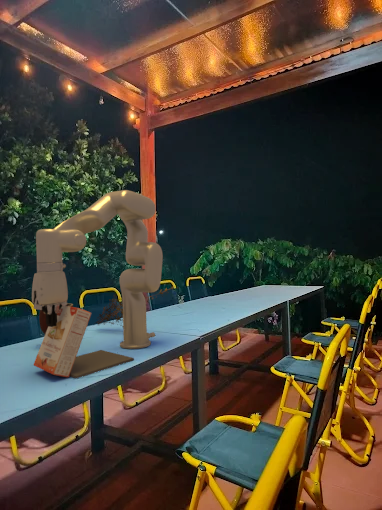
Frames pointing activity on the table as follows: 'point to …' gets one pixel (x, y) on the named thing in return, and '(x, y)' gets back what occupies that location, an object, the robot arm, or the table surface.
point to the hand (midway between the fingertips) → (51, 325)
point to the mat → (96, 362)
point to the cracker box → (63, 341)
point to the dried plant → (117, 310)
